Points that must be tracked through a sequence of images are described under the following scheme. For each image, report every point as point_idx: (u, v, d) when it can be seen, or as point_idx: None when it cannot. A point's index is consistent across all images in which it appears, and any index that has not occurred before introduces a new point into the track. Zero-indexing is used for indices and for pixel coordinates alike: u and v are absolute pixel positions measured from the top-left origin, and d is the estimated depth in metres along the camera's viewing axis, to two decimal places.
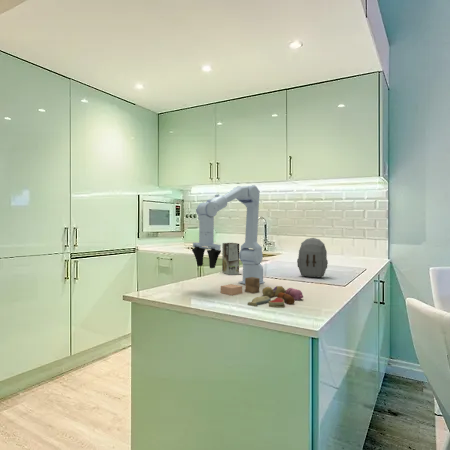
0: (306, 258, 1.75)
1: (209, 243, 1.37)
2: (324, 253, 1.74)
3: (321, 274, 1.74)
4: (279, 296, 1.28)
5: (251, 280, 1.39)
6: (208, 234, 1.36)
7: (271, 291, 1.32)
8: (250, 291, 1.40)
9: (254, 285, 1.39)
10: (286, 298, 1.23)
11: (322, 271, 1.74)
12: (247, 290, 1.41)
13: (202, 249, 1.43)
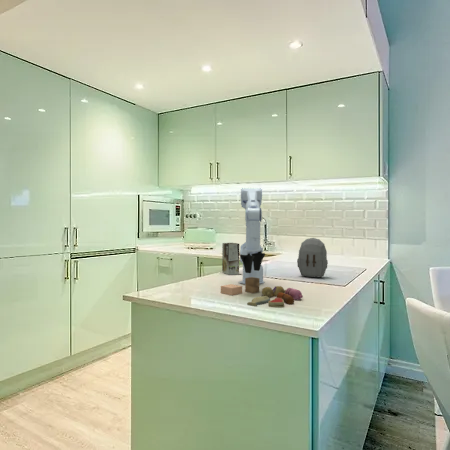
0: (306, 258, 1.75)
1: (248, 248, 1.39)
2: (324, 253, 1.74)
3: (321, 274, 1.74)
4: (279, 296, 1.28)
5: (251, 280, 1.39)
6: (247, 239, 1.40)
7: (270, 291, 1.32)
8: (250, 291, 1.40)
9: (254, 285, 1.39)
10: (286, 298, 1.23)
11: (322, 271, 1.74)
12: (247, 290, 1.41)
13: (259, 254, 1.44)
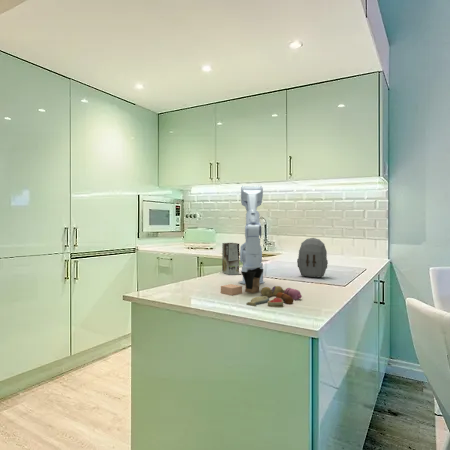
0: (306, 258, 1.75)
1: (247, 264, 1.40)
2: (324, 253, 1.74)
3: (321, 274, 1.74)
4: (278, 296, 1.28)
5: None
6: (247, 255, 1.40)
7: (270, 291, 1.32)
8: (250, 291, 1.40)
9: (254, 285, 1.39)
10: (285, 298, 1.23)
11: (322, 271, 1.74)
12: (247, 290, 1.41)
13: (258, 270, 1.43)
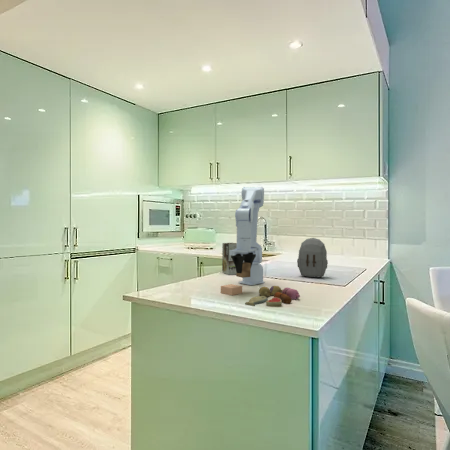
0: (306, 258, 1.75)
1: (237, 248, 1.39)
2: (324, 253, 1.74)
3: (321, 274, 1.74)
4: (276, 296, 1.28)
5: None
6: (237, 239, 1.39)
7: (268, 291, 1.33)
8: (240, 275, 1.38)
9: (244, 269, 1.38)
10: (283, 298, 1.24)
11: (322, 271, 1.74)
12: (238, 274, 1.40)
13: (249, 255, 1.41)
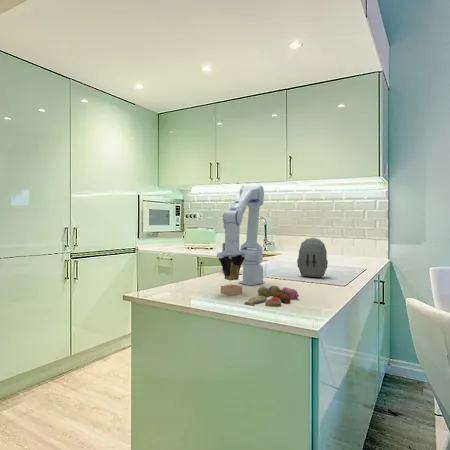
0: (306, 258, 1.75)
1: (225, 251, 1.37)
2: (324, 253, 1.74)
3: (321, 274, 1.74)
4: (275, 296, 1.29)
5: None
6: (225, 242, 1.37)
7: (267, 291, 1.33)
8: (228, 278, 1.37)
9: (232, 272, 1.36)
10: (282, 297, 1.24)
11: (322, 271, 1.74)
12: (226, 277, 1.38)
13: (238, 258, 1.39)
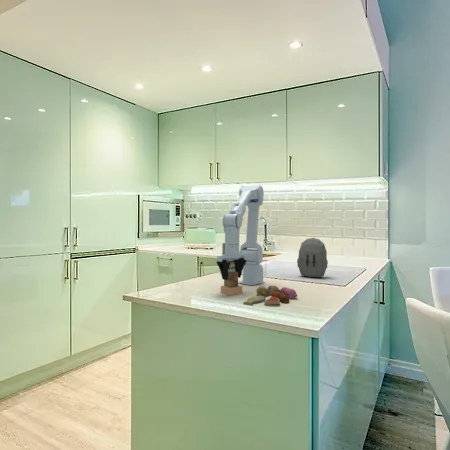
0: (306, 258, 1.75)
1: (225, 254, 1.37)
2: (324, 253, 1.74)
3: (321, 274, 1.74)
4: (274, 295, 1.29)
5: (228, 274, 1.37)
6: (225, 245, 1.37)
7: (265, 290, 1.33)
8: (227, 285, 1.37)
9: (231, 279, 1.37)
10: (281, 297, 1.24)
11: (322, 271, 1.74)
12: (225, 284, 1.38)
13: (240, 261, 1.40)
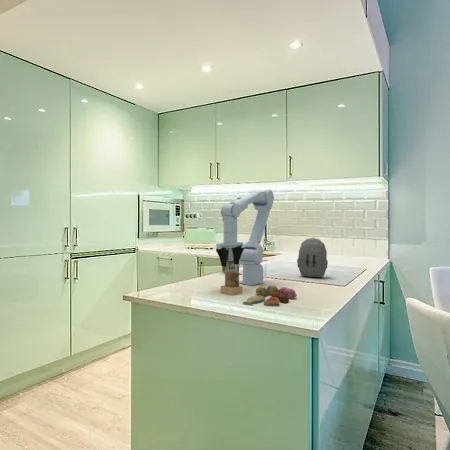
0: (306, 258, 1.75)
1: (224, 242, 1.45)
2: (324, 253, 1.74)
3: (321, 274, 1.74)
4: (273, 295, 1.29)
5: (229, 274, 1.37)
6: (224, 234, 1.46)
7: (265, 290, 1.33)
8: (228, 285, 1.37)
9: (232, 279, 1.36)
10: (280, 297, 1.25)
11: (322, 271, 1.74)
12: (226, 284, 1.38)
13: (238, 249, 1.49)
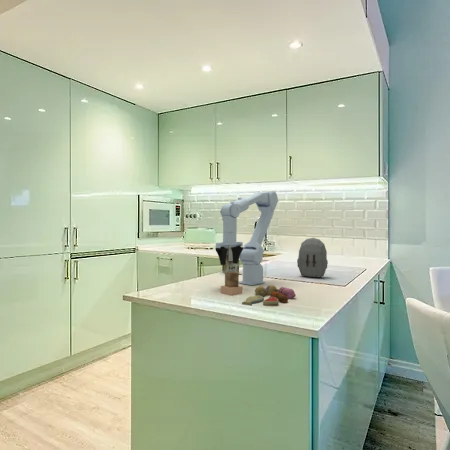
0: (306, 258, 1.75)
1: (223, 242, 1.48)
2: (324, 253, 1.74)
3: (321, 274, 1.74)
4: (272, 295, 1.29)
5: (228, 274, 1.37)
6: (223, 233, 1.48)
7: (264, 290, 1.33)
8: (227, 285, 1.37)
9: (231, 279, 1.37)
10: (279, 297, 1.25)
11: (322, 271, 1.74)
12: (226, 284, 1.39)
13: (237, 248, 1.51)
